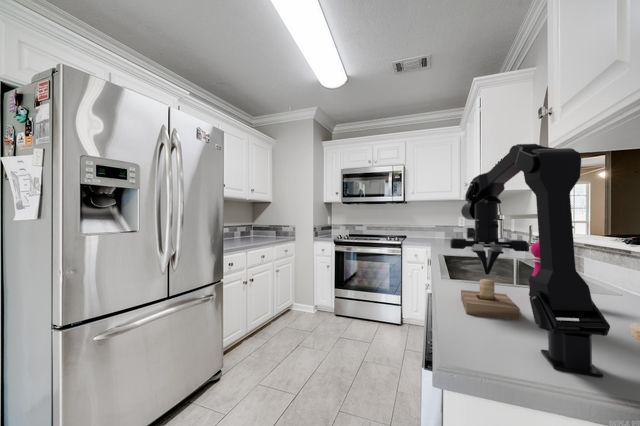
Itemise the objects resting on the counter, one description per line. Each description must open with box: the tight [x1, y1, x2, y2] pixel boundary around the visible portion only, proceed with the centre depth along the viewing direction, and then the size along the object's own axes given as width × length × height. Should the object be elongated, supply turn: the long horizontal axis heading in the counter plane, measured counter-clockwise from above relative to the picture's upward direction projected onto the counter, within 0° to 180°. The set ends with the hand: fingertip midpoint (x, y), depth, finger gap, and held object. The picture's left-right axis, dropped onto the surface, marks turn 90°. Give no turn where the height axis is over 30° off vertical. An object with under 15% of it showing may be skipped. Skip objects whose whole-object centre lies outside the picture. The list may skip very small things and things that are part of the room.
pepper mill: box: [528, 241, 541, 288], centre depth 84 cm, size 7×7×20 cm
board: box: [460, 289, 521, 321], centre depth 77 cm, size 14×12×3 cm
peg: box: [479, 278, 495, 301], centre depth 77 cm, size 4×4×8 cm
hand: (486, 274), depth 77 cm, fingers closed
